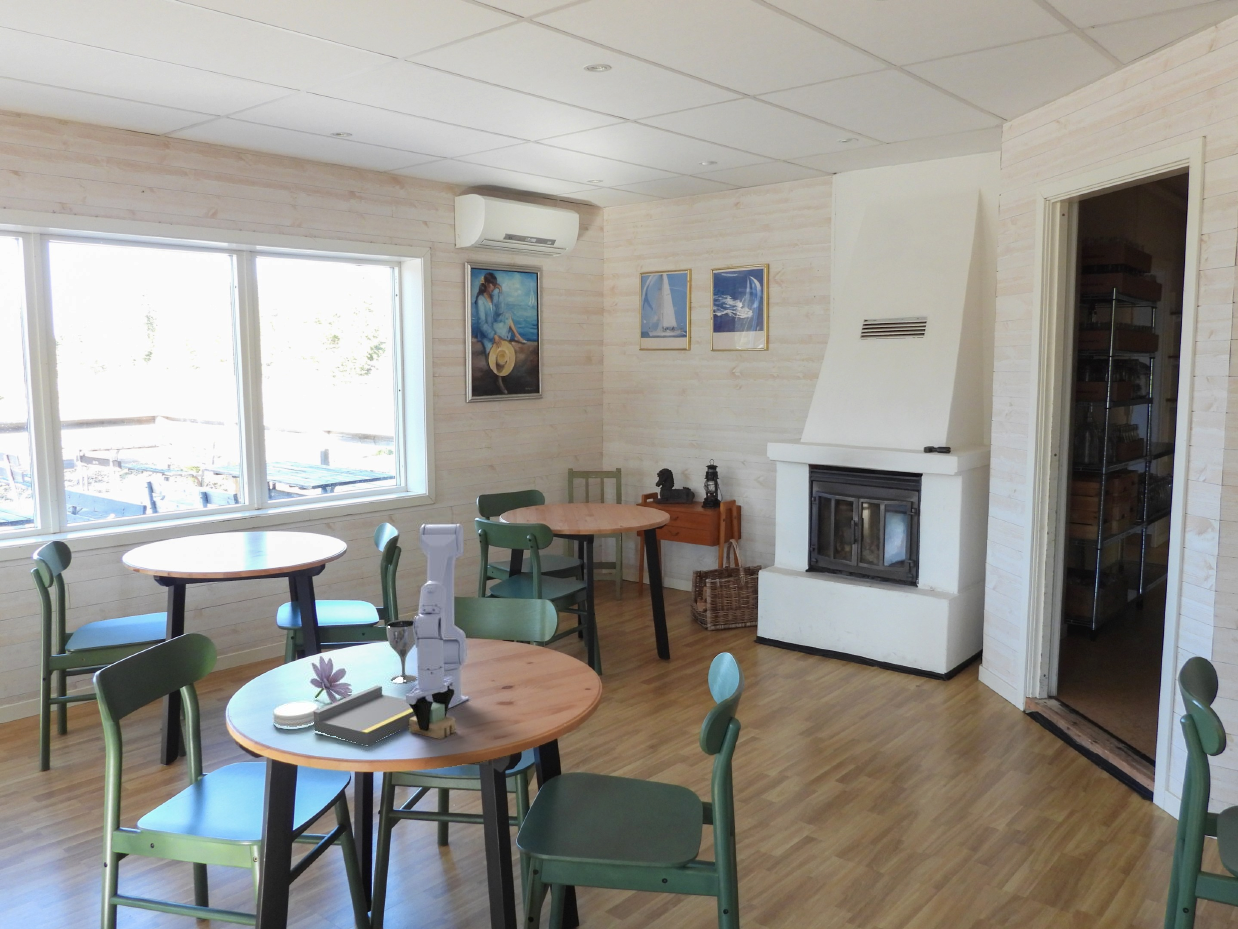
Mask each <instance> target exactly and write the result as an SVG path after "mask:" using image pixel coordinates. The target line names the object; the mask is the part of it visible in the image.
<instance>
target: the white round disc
mask: <svg viewBox="0 0 1238 929" xmlns="http://www.w3.org/2000/svg"><path fill="white" fill-rule="evenodd" d="M318 709H320V707H319V705H318V704H317V703H315V702H312V701H295V702H287V703H285V704H281V705H279V706H278V707H276V708H274V710H273V713H272V715H273V718H272V719H273V724H274V723H275V724H278V725H280V726H287V727H288V726H289V727H297V726H302V725H308V724H311V723H313V722H314V711H316V710H318Z"/></svg>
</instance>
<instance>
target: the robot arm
mask: <svg viewBox="0 0 1238 929" xmlns="http://www.w3.org/2000/svg"><path fill="white" fill-rule="evenodd" d="M418 538H419V547H420V548H421V550H422V554H424V555H425V557H427V562H426V563H427V570H426V583H425V584H423V585H422V586H421V587H420V595H419V596H420V597H419V601H418V602H419V603H418V611H417V615H415V616H414V618H413V620H414V623H413V632H414V638H415V645H414V647H415V648H416V656H417V659H416V660H417V663H416V664H417V678H418V679H417V686H415V687H414V688H413V689H412V690H411V691H410V692H408V693H407V694H405V699H406V703H408V704H409V705H410V707H411V708H412V710H413V712H414V714H415V716H416V719H417V722H418V725H419V729H420V730H424V731H427V730H429V720H430V711H431V707H432V704H433V702H435V703H440V704H445V717H447V714H448V710H449V709H451V708H453V707H455V706H457V705H459V704H461V703H462V702H463V703H464V702H466V701H468V700H469V699H470V696H468V695H462V675H461V674H462V669H461V668H462V667H461V666H462V665H465V663H466V662H467V656H468V655H467V654H468V652H467V650H468V648H467V638H466V636H467V634H466V633H465V631H464V630H462V629H460V628H459V626H456V625H455V565H456V561H457V560H456V559H458V558H460V557H463V553H464V538H465V537H464V528H463V525H462V524H461V523H457V524H456V523H455V524H449V523H448V524H444V523H443V524H426V523H423V524H422V525H421V526H420V528H419V537H418Z"/></svg>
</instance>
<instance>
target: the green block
mask: <svg viewBox="0 0 1238 929" xmlns="http://www.w3.org/2000/svg"><path fill="white" fill-rule="evenodd" d="M443 718H445V704H440V703H435V702H433V704H432V707H431V711H430V720H429V722H430V723H435V722H437V721H439V720H441V719H443Z"/></svg>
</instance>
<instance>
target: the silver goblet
mask: <svg viewBox="0 0 1238 929" xmlns="http://www.w3.org/2000/svg"><path fill="white" fill-rule="evenodd" d="M413 623H414V619H398V620H392V621H389V622H388V623H387V624H386V635H387V640H388V643H389V644H388V645H389V646H390V648H392V650H393V651H394V652H395V653H396V654H397V655H398V656H399V659H400V663H401V674H400V676H399V675H395V676H393V677H391V678H392V679H391V678H390V679H391V681H393V682H397V683H405V684H408V683H407V682H411V681H414V682H416V681H418V679H416V678H418V676H417V675H414V674H406V659H407V656H408V654H409V653H410V652H411V651H412V649H414V647H415V638H414V632H413ZM413 675H414V676H413ZM415 680H416V681H415ZM411 683H412V682H411Z"/></svg>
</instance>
